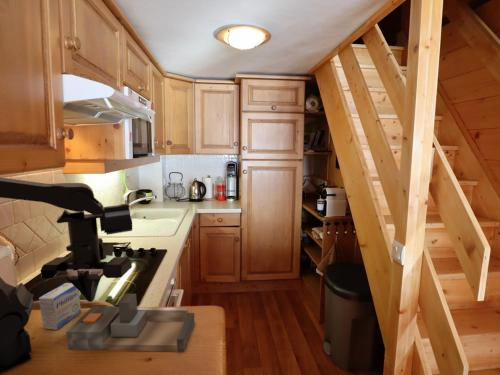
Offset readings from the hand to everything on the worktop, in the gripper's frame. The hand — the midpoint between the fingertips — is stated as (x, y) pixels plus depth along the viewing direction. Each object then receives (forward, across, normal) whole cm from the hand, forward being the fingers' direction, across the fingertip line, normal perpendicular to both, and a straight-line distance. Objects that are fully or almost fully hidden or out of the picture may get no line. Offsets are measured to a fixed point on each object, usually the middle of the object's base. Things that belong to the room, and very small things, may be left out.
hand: (91, 300), depth 67 cm
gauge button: (+8, 0, 0) cm, 8 cm away
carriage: (+7, -9, 0) cm, 11 cm away
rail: (+9, -10, 0) cm, 13 cm away
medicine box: (+9, +12, -6) cm, 16 cm away
